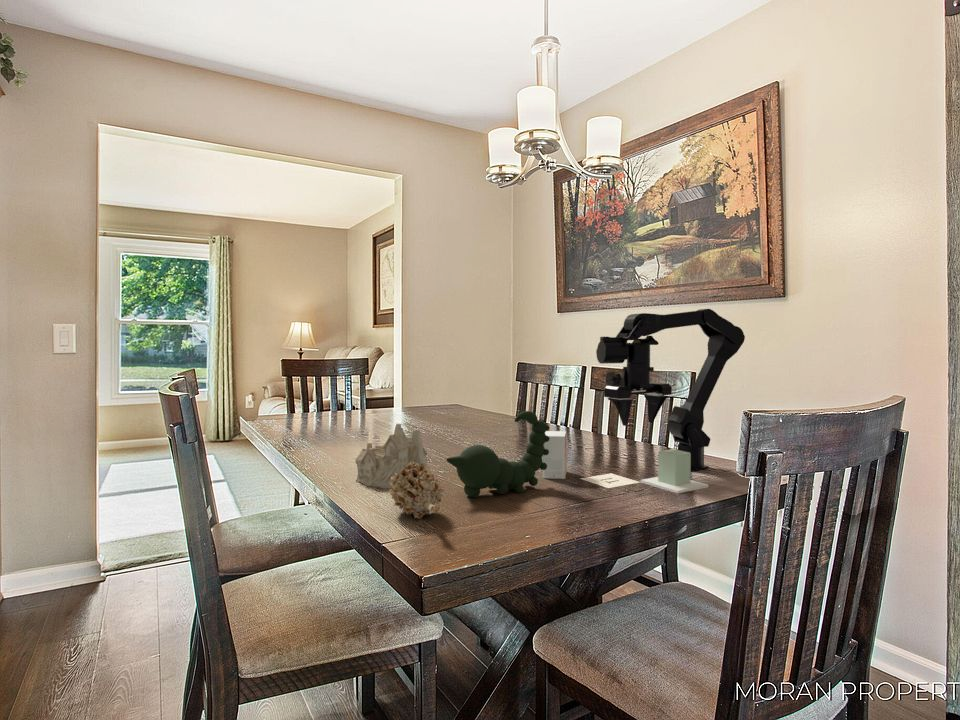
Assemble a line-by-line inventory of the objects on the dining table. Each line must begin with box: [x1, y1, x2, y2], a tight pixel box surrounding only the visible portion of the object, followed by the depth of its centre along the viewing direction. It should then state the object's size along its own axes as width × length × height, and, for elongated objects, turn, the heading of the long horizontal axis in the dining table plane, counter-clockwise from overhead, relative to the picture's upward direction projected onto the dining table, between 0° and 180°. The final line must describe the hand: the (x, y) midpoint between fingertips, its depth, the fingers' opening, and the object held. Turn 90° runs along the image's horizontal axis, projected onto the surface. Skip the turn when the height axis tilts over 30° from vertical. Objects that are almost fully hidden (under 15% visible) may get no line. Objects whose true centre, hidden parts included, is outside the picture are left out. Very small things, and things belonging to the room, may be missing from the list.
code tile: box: [579, 472, 641, 489], centre depth 135 cm, size 10×10×1 cm
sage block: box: [657, 448, 691, 486], centre depth 131 cm, size 5×5×7 cm
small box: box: [542, 430, 568, 480], centre depth 141 cm, size 8×6×10 cm
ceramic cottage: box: [355, 423, 432, 489], centre depth 138 cm, size 16×16×15 cm
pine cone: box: [387, 461, 444, 520], centre depth 107 cm, size 22×10×10 cm, turn 27°
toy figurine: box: [445, 410, 550, 499], centre depth 125 cm, size 9×19×25 cm
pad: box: [640, 476, 709, 494], centre depth 131 cm, size 10×11×1 cm
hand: (638, 424), depth 144 cm, fingers open, 9 cm apart
